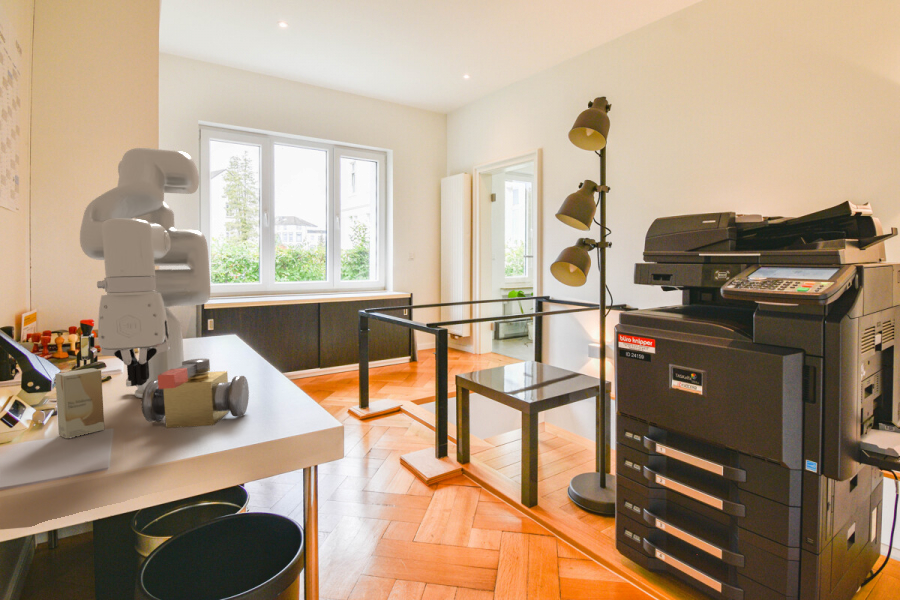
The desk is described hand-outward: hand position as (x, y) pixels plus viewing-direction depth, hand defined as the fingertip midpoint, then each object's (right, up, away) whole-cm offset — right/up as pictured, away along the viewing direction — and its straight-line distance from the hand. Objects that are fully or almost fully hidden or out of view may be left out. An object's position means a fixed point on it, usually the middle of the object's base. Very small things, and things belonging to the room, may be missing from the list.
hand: (139, 383), depth 84 cm
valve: (+5, -9, +11) cm, 15 cm away
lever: (+6, 0, +5) cm, 8 cm away
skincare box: (-14, -11, +4) cm, 18 cm away
